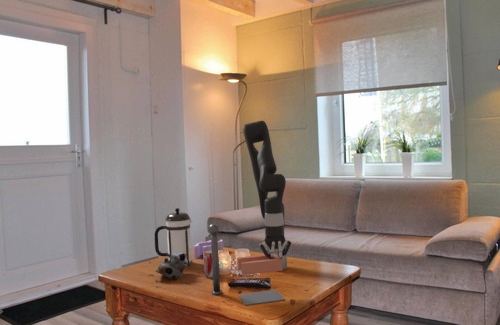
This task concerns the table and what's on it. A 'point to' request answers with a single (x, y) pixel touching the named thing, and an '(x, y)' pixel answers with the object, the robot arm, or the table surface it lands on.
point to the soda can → (208, 264)
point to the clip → (205, 248)
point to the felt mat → (261, 297)
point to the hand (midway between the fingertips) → (276, 266)
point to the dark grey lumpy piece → (173, 266)
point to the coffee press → (176, 235)
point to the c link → (259, 264)
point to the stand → (215, 259)
